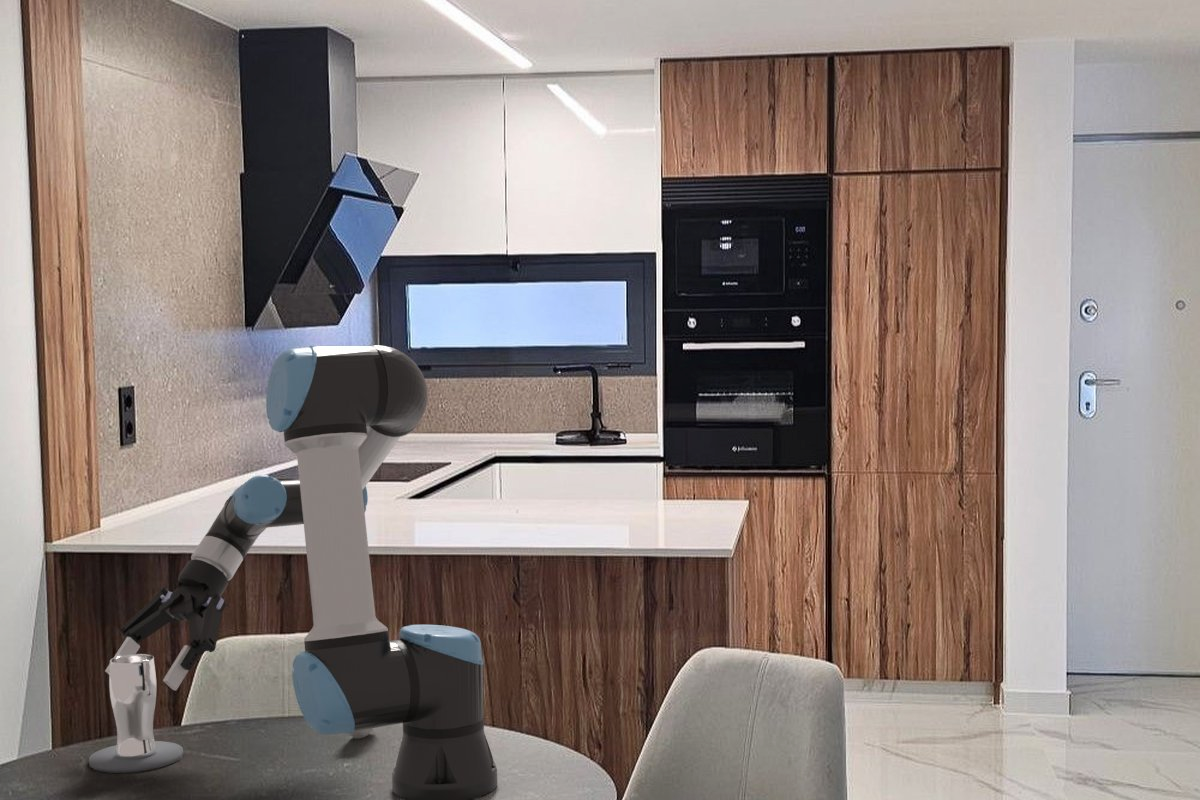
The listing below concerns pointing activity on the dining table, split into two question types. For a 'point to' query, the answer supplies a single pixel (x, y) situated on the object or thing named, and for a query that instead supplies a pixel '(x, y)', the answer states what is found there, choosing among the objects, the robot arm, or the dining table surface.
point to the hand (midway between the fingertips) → (139, 680)
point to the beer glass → (133, 704)
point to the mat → (111, 763)
